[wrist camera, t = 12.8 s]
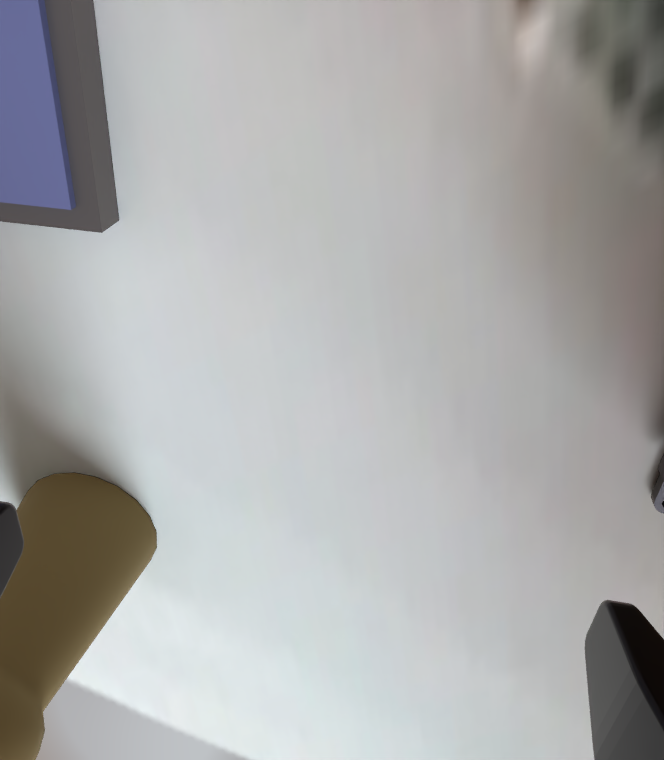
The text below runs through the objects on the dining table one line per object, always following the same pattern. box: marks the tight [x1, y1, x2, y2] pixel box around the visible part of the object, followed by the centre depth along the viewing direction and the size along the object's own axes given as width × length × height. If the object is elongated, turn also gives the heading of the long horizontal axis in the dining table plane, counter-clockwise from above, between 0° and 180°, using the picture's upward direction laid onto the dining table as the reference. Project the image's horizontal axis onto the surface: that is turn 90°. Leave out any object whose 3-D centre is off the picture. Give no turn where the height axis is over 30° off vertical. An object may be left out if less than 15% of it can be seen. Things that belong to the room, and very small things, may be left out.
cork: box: [0, 473, 157, 760], centre depth 23 cm, size 6×6×11 cm
